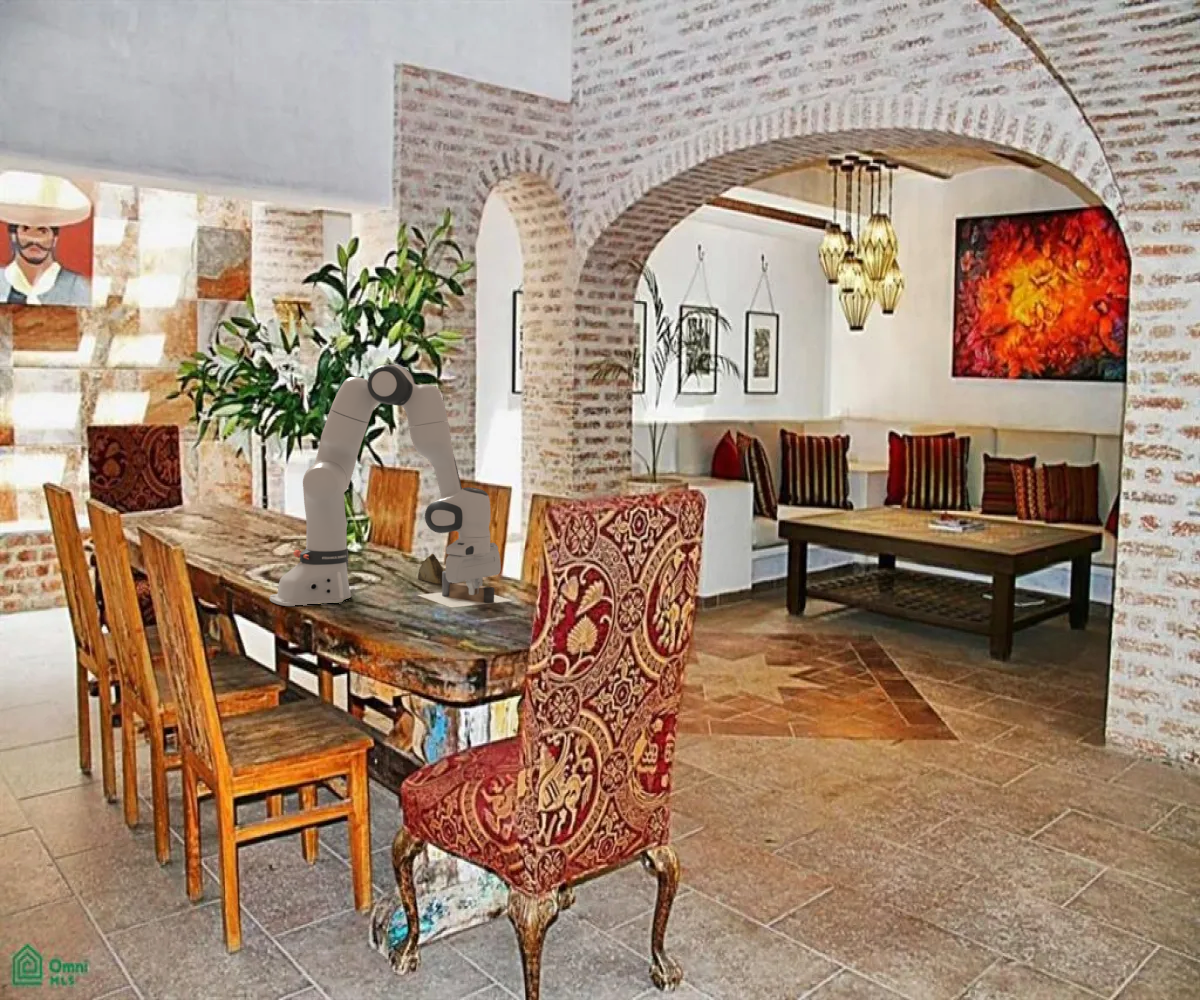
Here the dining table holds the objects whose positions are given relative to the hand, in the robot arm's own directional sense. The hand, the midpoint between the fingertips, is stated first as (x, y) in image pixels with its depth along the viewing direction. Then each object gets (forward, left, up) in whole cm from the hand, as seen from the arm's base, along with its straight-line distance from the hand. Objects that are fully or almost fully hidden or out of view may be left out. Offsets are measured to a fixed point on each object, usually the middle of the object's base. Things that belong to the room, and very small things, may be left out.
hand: (473, 594), depth 316 cm
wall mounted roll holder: (+1, +6, -3) cm, 7 cm away
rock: (+6, +34, -3) cm, 35 cm away
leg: (+2, +3, -2) cm, 4 cm away
